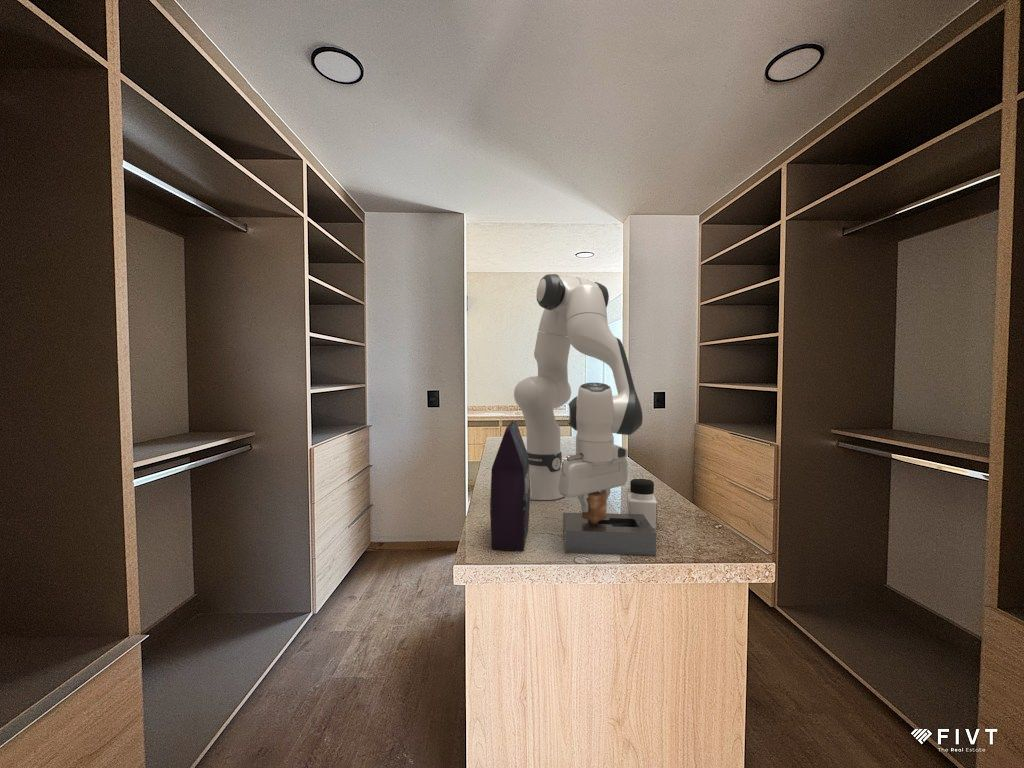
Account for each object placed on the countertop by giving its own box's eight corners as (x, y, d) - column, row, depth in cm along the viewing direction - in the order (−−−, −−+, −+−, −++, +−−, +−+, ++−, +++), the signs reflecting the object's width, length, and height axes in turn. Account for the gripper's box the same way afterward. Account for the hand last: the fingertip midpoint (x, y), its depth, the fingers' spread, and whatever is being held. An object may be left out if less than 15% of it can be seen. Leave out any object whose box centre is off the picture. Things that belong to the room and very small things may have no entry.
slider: (594, 546, 104) (594, 496, 104) (580, 540, 108) (581, 492, 108) (607, 542, 107) (607, 493, 107) (593, 536, 111) (593, 489, 110)
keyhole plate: (565, 552, 101) (565, 530, 101) (562, 531, 114) (562, 512, 114) (656, 555, 100) (656, 533, 100) (642, 534, 113) (643, 514, 113)
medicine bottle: (656, 529, 116) (657, 483, 116) (628, 527, 118) (629, 482, 117) (653, 520, 123) (654, 477, 123) (627, 518, 125) (627, 475, 124)
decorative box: (530, 527, 118) (530, 420, 117) (525, 552, 102) (525, 428, 101) (499, 525, 119) (499, 420, 118) (489, 550, 102) (489, 428, 102)
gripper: (572, 458, 98) (571, 521, 99) (632, 449, 110) (631, 505, 111) (552, 454, 103) (552, 514, 104) (612, 445, 115) (611, 499, 116)
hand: (594, 509), depth 107 cm, fingers closed on slider, 4 cm apart
